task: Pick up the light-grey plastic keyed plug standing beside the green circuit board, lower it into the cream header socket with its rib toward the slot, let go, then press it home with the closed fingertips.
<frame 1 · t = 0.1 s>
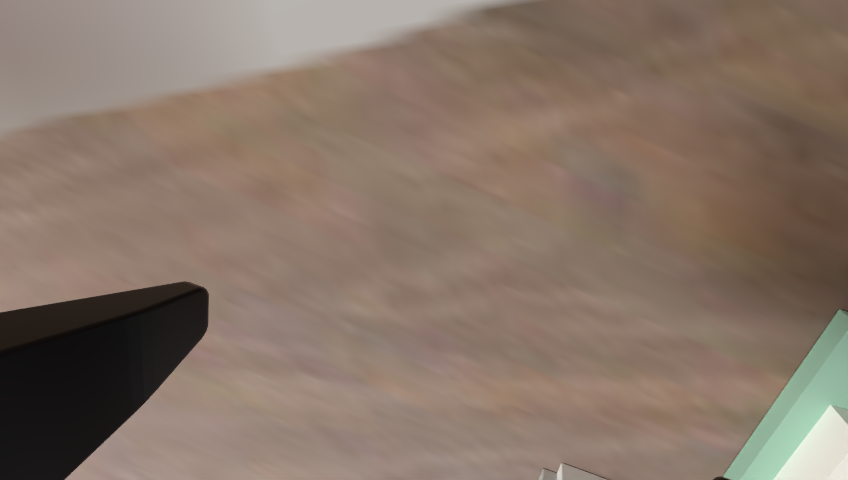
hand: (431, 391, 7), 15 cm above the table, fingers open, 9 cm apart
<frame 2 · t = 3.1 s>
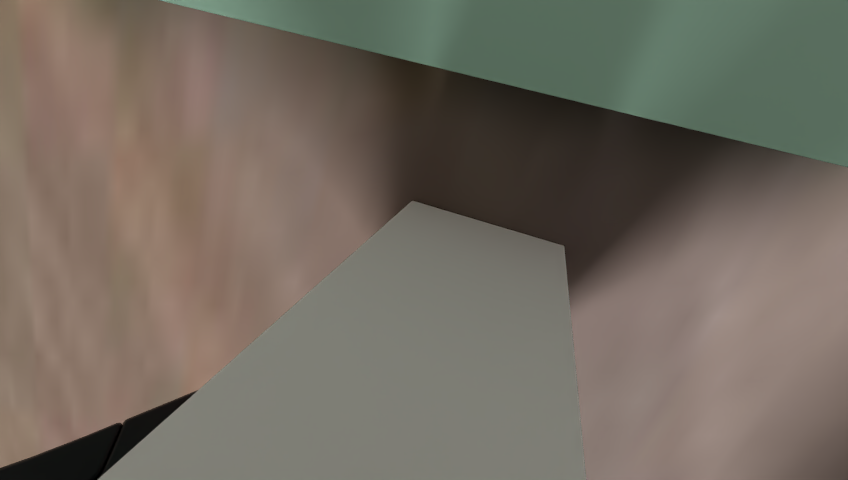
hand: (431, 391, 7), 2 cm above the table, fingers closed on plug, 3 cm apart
plug: (454, 329, 9), on the table, touching gripper
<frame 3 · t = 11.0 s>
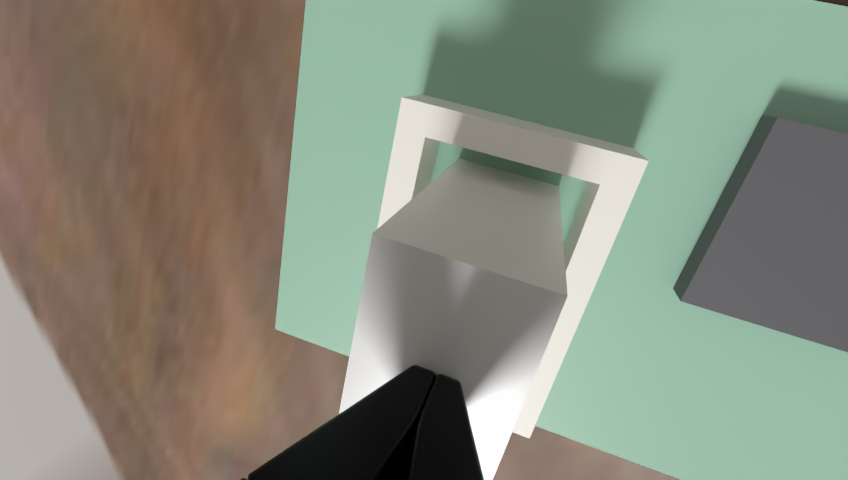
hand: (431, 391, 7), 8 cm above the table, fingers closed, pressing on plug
board: (589, 236, 14), on the table
plug: (485, 247, 14), point 1 cm above the table, touching board, gripper
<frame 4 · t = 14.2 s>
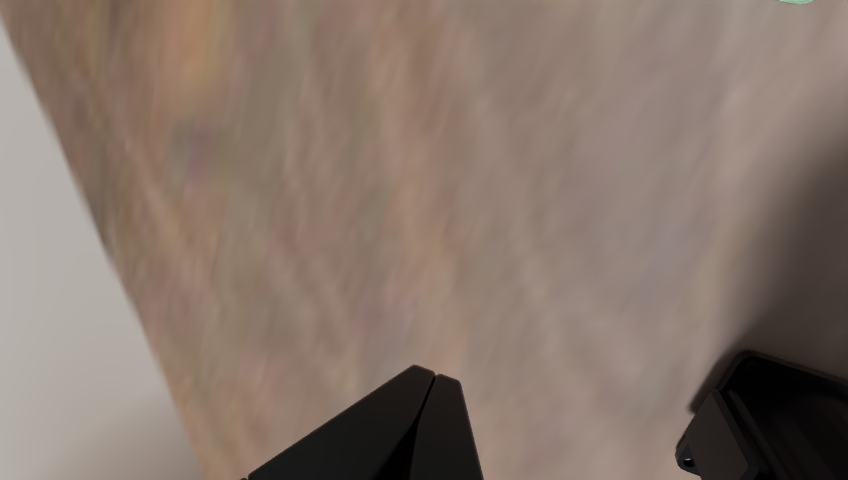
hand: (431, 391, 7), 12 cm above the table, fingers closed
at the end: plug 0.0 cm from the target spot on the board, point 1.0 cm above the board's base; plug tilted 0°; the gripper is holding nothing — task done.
